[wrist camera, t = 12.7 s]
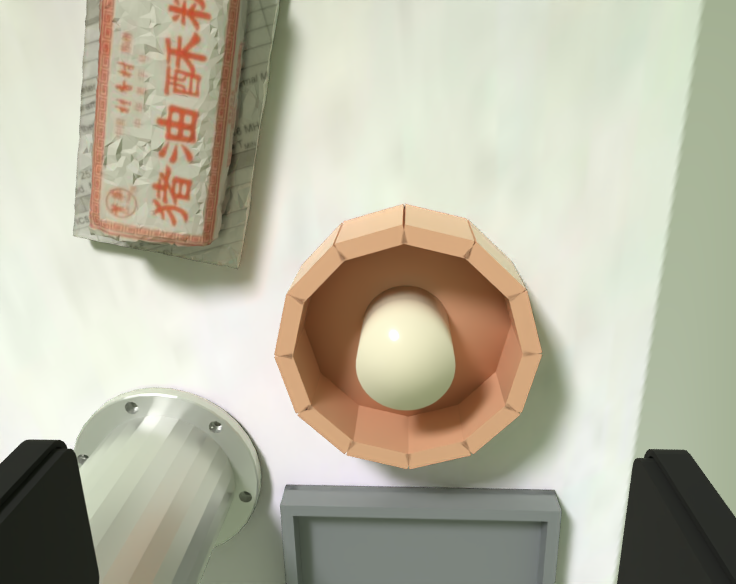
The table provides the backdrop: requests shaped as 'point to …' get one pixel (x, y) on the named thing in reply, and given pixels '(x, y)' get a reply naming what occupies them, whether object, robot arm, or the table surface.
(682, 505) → the robot arm
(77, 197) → the packaged product
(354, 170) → the table surface
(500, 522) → the tray
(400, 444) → the bowl
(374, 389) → the egg
